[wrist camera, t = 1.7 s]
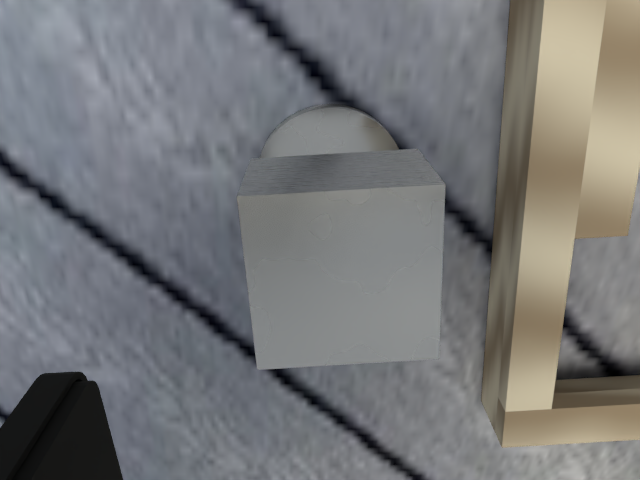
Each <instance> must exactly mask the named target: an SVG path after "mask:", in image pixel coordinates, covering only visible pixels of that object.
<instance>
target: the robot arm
mask: <svg viewBox="0 0 640 480" xmlns="http://www.w3.org/2000/svg"><path fill="white" fill-rule="evenodd" d="M0 480H123V478H122V474H121V470H120V466H119V462H118V459H117V455H116V451H115V447H114V444H113V440H112V436H111V432H110V429H109V425H108V421H107V417H106V414H105V410H104V406H103V402H102V399H101V395H100V391H99V388H98V385H97V383H96V382H95V381H87V378H86V376H85V375H84V374H83V373H81V372H63V373H45V374H42V375H40V376H39V377H38V378H37V379H36V380H35V381H34V383H33V384H32V386H31V387H30V388H29V390H28V391H27V392H26V394H25V395H24V396H23V398H22V399H21V401H20V402H19V403H18V405H17V406H16V407H15V409H14V410H13V412H12V413H11V414H10V416H9V417H8V418H7V420H6V421H5V422H4V424H3V425H2V427H1V428H0Z"/></svg>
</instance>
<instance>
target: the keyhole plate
mask: <svg viewBox="0 0 640 480" xmlns="http://www.w3.org/2000/svg"><path fill="white" fill-rule="evenodd" d="M639 167H640V0H510V13H509V26H508V40H507V54H506V67H505V81H504V95H503V108H502V122H501V136H500V149H499V163H498V177H497V190H496V204H495V218H494V231H493V245H492V259H491V272H490V286H489V300H488V314H487V327H486V341H485V355H484V368H483V382H482V396H481V402H482V404H483V406H484V408H485V411H486V413H487V415H488V417H489V420H490V422H491V424H492V426H493V429H494V431H495V433H496V435H497V438H498V440H499V442H500V444H501V447H502V448H504V447H521V446H538V445H555V444H572V443H589V442H606V441H623V440H640V375H632V376H615V377H598V378H581V379H564V380H556V372H557V365H558V357H559V350H560V343H561V335H562V328H563V320H564V313H565V306H566V298H567V291H568V283H569V276H570V269H571V261H572V254H573V246H574V239H579V238H596V237H613V236H628V230H629V225H630V219H631V213H632V207H633V202H634V196H635V190H636V185H637V179H638V173H639Z"/></svg>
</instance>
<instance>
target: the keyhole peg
mask: <svg viewBox="0 0 640 480" xmlns="http://www.w3.org/2000/svg"><path fill="white" fill-rule="evenodd" d="M237 202H238V211H239V219H240V228H241V236H242V245H243V253H244V262H245V270H246V279H247V287H248V296H249V304H250V313H251V321H252V330H253V338H254V347H255V355H256V364H257V370H263V369H280V368H297V367H314V366H331V365H348V364H365V363H382V362H399V361H416V360H433V359H439V351H440V323H441V295H442V267H443V239H444V211H445V183H444V182H443V181H442V179H441V178H440V177H439V175H438V174H437V173H436V172H435V170H434V169H433V168H432V166H431V165H430V164H429V163H428V161H427V160H426V159H425V158H424V156H423V155H422V154H421V152H420V151H419V150H418V149H404V150H399V148H398V147H397V145H396V143H395V141H394V140H393V138H392V137H391V135H390V134H389V133H388V131H387V130H386V129H385V128H384V127H383V125H382V124H381V123H380V122H378V121H377V120H376V119H375V118H373V117H372V116H370V115H369V114H367V113H365V112H363V111H361V110H359V109H357V108H353V107H350V106H346V105H340V104H322V105H315V106H312V107H308V108H305V109H303V110H300V111H298V112H296V113H294V114H293V115H291V116H289V117H288V118H287V119H285V120H284V121H283V122H281V123H280V124H279V125H278V126H277V127H276V128H275V129H274V131H273V132H272V133H271V135H270V136H269V138H268V139H267V141H266V143H265V145H264V147H263V150H262V152H261V155H260V158H251V159H250V161H249V164H248V167H247V170H246V173H245V175H244V178H243V181H242V184H241V186H240V189H239V192H238V195H237Z"/></svg>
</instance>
